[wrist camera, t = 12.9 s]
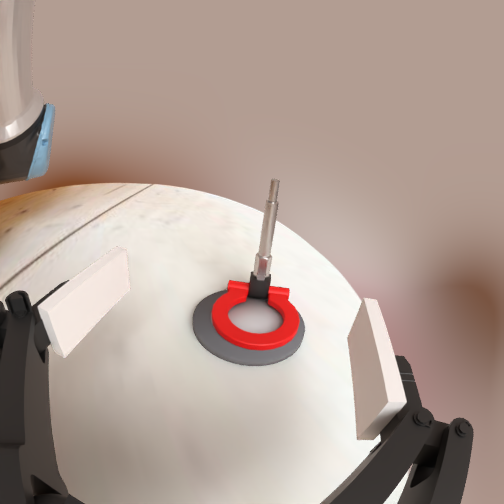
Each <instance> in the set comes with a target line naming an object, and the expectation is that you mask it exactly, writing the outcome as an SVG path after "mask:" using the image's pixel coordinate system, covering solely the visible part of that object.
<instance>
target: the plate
mask: <svg viewBox="0 0 504 504" xmlns="http://www.w3.org/2000/svg"><path fill="white" fill-rule="evenodd" d="M225 293H228V291H227V290H224V291H220V292H217V293H214V294H212V295H209V296H208V297H206V298H204V299H203V300H202V301H201V302H200V303H199V304H198V305H197V307H196V309H195V311H194V315H193V329H194V333H195V335H196V337H197V339H198V341H199V342H200V343H201V344H202V345H203V346H204V347H205V348H206V349H207V350H208V351H209V352H211V353H212V354H214V355H215V356H217V357H219V358H221V359H223V360H226V361H229V362H232V363H235V364H240V365H248V366H263V365H270V364H274V363H277V362H280V361H283V360H285V359H287V358H288V357H290V356H291V355H293V354H294V353H295V352H296V351H297V349H298V348H299V347H300V345H301V342H302V340H303V336H304V332H305V326H304V321H303V319H302V317H301V315H300V314H299V312H298V311H297V312H298V314H299V319H300V323H299V327H298V330H297V334H296V335H295V336H294V338H293V339H292V340H291V341H290V342H288V343H287V344H285V345H284V346H281V347H278V348H275V349H271V350H250V349H245V348H242V347H239V346H236V345H234V344H232V343H230V342H228V341H227V340H225V339H224V338H223V337H222V336H221V335H220V334H218V333H217V331H216V329H215V327H214V326H213V323H212V309H213V305H214V303H215V302H216V301H217V299H218V298H220V297H221V296H222V295H224V294H225ZM228 317H229V319H230V320H231V322H232V323H233V324H234V325H235V326H237V327H238V328H240V329H242V330H244V331H247V332H251V333H258V334H261V333H269V332H272V331H275V330H277V329H278V328H280V327H281V325H282V324H283V318H282V316H281V314H280V313H279V312H278V311H277V310H276V309H275V308H273V307H272V306H270V305H269V304H268V298H267V299H260V298H253V297H248V296H247V299H246V301H245V302H242V303H239V304H237V305H234V306H233V307H232V308H231V309H230V310H229V312H228Z"/></svg>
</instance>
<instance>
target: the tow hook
mask: <svg viewBox="0 0 504 504" xmlns="http://www.w3.org/2000/svg"><path fill="white" fill-rule="evenodd" d="M279 182H280V181H279V180H277V179H272V180H271V185H270V192H269V199H268V200H266V204H265V211H264V218H263V225H262V232H261V239H260V246H259V253H257V254H256V257H255V264H254V271H253V272H251V277H250V283H246V282H239V281H232V280H229V283H228V287H227V291H228V293H225V294H224V295H222V296H221V297H220V298H218V299H217V301H216V302H215V303H214V305H213V309H212V323H213V326H214V327H215V329H216V331H217V333H218V334H220V335H221V336H222V337H223V338H224V339H225V340H227V341H228V342H230V343H232V344H234V345H236V346H239V347H242V348H245V349H250V350H271V349H275V348H278V347H281V346H284V345H285V344H287V343H288V342H290V341H291V340H292V339H293V338H294V336H295V335H296V334H297V330H298V327H299V323H300V319H299V314H298V312H297V310H296V308H295V307H294V306H293V305H292V304H291V303H290V302H289V301H288V298H289V288H282V287H274V286H270V282H271V274H269V272H270V267H271V261H272V256H271V255H270V253H271V247H272V241H273V235H274V228H275V222H276V216H277V210H278V202H277V195H278V188H279ZM247 296H248V297H253V298H260V299H267V298H268V304H269V305H270V306H272V307H273V308H275V309H276V310H277V311H278V312H279V313H280V314H281V316H282V318H283V324H282V325H281V327H280V328H278V329H277V330H275V331H272V332H269V333H261V334H258V333H251V332H247V331H244V330H242V329H240V328H238V327H237V326H235V325H234V324H233V323H232V322H231V320H230V319H229V317H228V312H229V310H230V309H231V308H232V307H233V306H234V305H237V304H239V303H242V302H245V301H246V299H247Z"/></svg>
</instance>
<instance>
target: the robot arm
mask: <svg viewBox="0 0 504 504" xmlns="http://www.w3.org/2000/svg"><path fill="white" fill-rule="evenodd" d="M34 7H35V0H0V184H4V183H10V182H16V181H23V180H26V181H27V180H29V179H31V178H36V177H40V176H43V175H44V174H45V173H46V171H47V169H48V166H49V159H50V151H51V142H52V134H53V125H54V117H55V106H54V105H53V104H49V103H48V104H45V105H44V99H43V95H42V93H41V92H40V91H39V90H38V89H37V88H35V87H33V82H32V30H33V17H34ZM129 290H130V279H129V269H128V256H127V249H126V248H122V247H118V246H116V247H115V248H113V249H112V250H110V251H109V252H108V253H106V254H105V255H103V256H102V257H101V258H99V259H98V260H96V261H95V262H94V263H92V264H91V265H90V266H88V267H87V268H85V269H84V270H83V271H81V272H80V273H79V274H77V275H76V276H75V277H74V278H72V279H71V280H68V281H65V282H63V283H61V284H59V285H58V286H57V287H56V288H54V290H52V291H51V292H49V294H47V295H45V296H44V297H43V298H42V299H40V300H39V301H38V302H37V303H36V304H34V305H33V306H31V303H30V300H29V297H28V294H27V293H26V292H25V291H15V292H13V293H11V294H9V295H8V296H7V297H6V299H5V301H6V304H7V307H8V310H9V311H8V310H5V308H4V305H3V303H2V302H1V301H0V504H84V503H83V502H81V501H79V500H78V499H76V498H75V497H73V496H71V495H70V494H68V491H67V488H66V486H65V483H64V482H63V480H62V478H61V477H60V474H59V471H58V467H57V462H56V456H55V450H54V443H53V436H52V428H51V418H50V404H49V378H48V364H49V352H48V348H47V347H48V346H49V345H50V343H51V345H52V348H53V350H54V352H55V353H57V354H58V355H60V356H62V357H64V358H66V356H67V355H68V354H69V353H70V352H71V351H72V350H73V349H74V348H75V347H76V345H77V344H78V343H79V342H80V341H81V340H82V339H83V338H84V337H85V336H86V335H87V334H88V332H89V331H90V330H91V329H92V328H93V327H94V326H95V325H96V324H97V323H98V322H99V321H100V320H101V319H102V318H103V317H104V316H105V315H106V314H107V312H108V311H109V310H110V309H111V308H112V307H113V306H114V305H115V304H116V303H117V302H118V301H119V300H120V299H121V298H122V297H123V296H124V295H125V294H126V293H127V292H128V291H129ZM347 339H348V346H349V354H350V362H351V371H352V381H353V391H354V403H355V416H356V432H357V440H374V439H375V438H376V437H377V436H378V435H379V434H380V436H381V441H380V442H379V443H378V444H377V445H376V446H375V447H374V448H373V449H372V450H371V451H370V452H371V453H370V454H369V455H368V456H367V457H366V459H365V460H364V461H363V462H362V463H361V464H360V465H359V466H358V467H357V468H356V469H355V471H354V472H353V473H352V474H351V475H350V476H349V477H348V478H347V479H346V480H345V481H344V482H343V483H342V484H341V485H340V486H339V487H338V488H337V489H336V490H335V491H334V492H332V493H331V494H330V495H329V496H328V497H327V498H326V499H325V500H324V501H323V502H321V503H320V504H383V503H384V502H385V501H386V499H387V498H388V497H389V496H390V494H391V493H392V492H393V490H394V489H395V488H396V486H397V485H398V484H399V482H400V481H401V479H402V478H403V477H404V475H405V474H406V472H407V471H408V469H409V468H410V466H411V465H412V463H413V466H412V468H411V471H410V474H409V477H408V479H407V482H406V484H405V487H404V489H403V492H402V494H401V496H400V499H399V501H398V503H397V504H460V503H461V499H462V496H463V491H464V487H465V483H466V478H467V473H468V468H469V462H470V457H471V450H472V442H473V428H472V426H471V424H470V423H469V422H468V421H467V420H466V419H464V418H456V419H454V420H453V421H452V422H451V423H450V424H446V423H443V422H439V421H436V420H434V417H433V415H432V414H431V412H430V411H429V410H427V409H425V408H423V407H422V404H421V400H420V397H419V393H418V389H417V386H416V383H415V382H414V381H415V379H414V376H413V375H412V374H413V373H412V369H411V366H410V364H409V363H408V361H407V360H406V359H405V357H404V356H395V355H394V351H393V348H392V345H391V341H390V338H389V335H388V332H387V329H386V326H385V322H384V319H383V317H382V314H381V311H380V308H379V305H378V302H377V300H374V299H369V298H363V301H362V303H361V306H360V308H359V311H358V313H357V316H356V318H355V321H354V323H353V326H352V328H351V331H350V333H349V335H348V338H347ZM33 495H34V496H33Z"/></svg>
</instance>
